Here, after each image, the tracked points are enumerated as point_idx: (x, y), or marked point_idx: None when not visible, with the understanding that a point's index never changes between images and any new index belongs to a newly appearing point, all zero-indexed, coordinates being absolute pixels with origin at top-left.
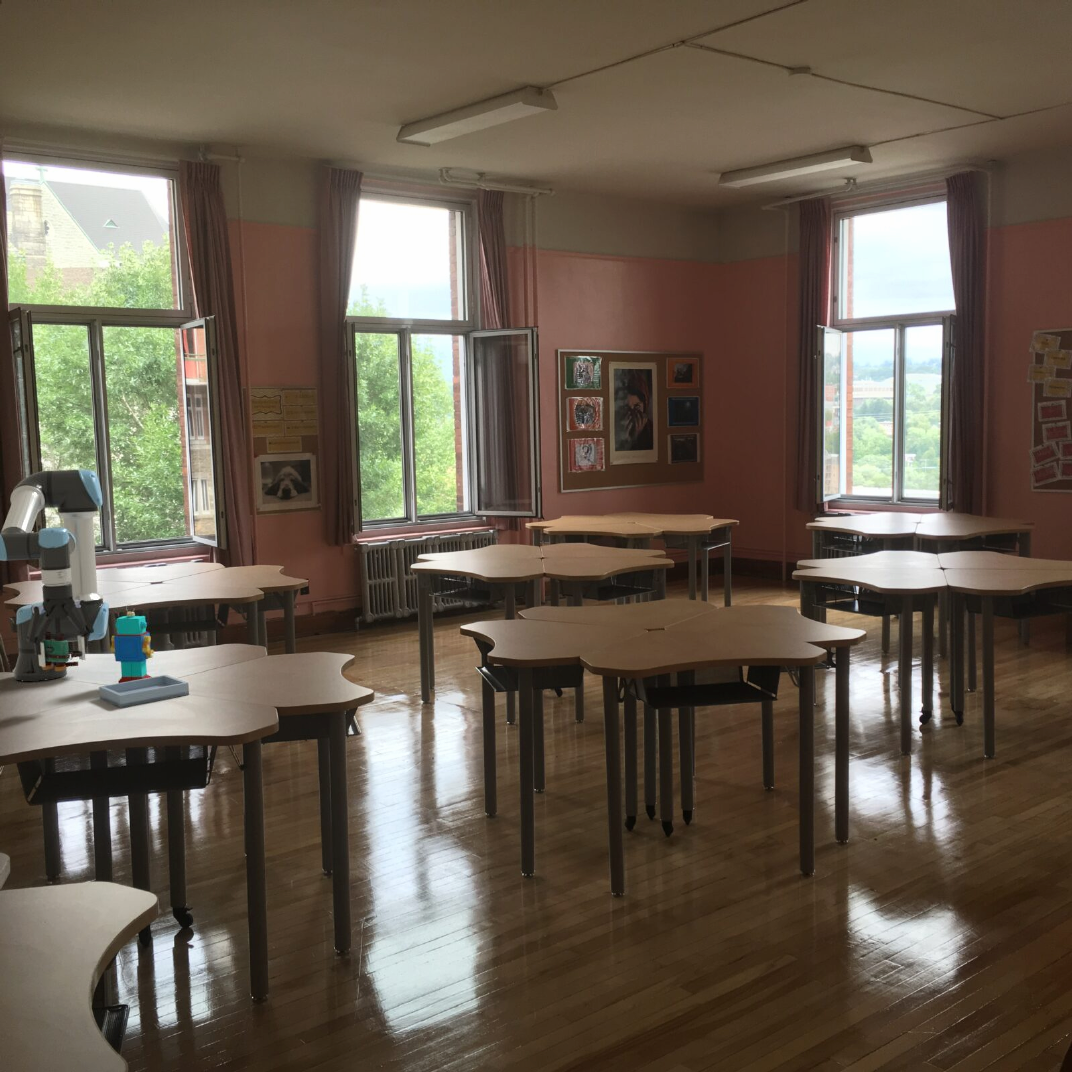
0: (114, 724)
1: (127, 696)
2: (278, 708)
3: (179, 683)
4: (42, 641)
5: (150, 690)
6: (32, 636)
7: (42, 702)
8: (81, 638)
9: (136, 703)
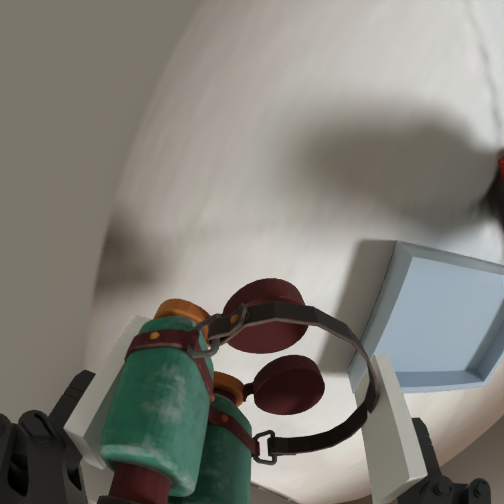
0: (253, 436)
1: None
2: None
3: (492, 362)
4: (101, 434)
5: (420, 391)
6: (22, 481)
7: (260, 110)
8: (373, 499)
9: None
